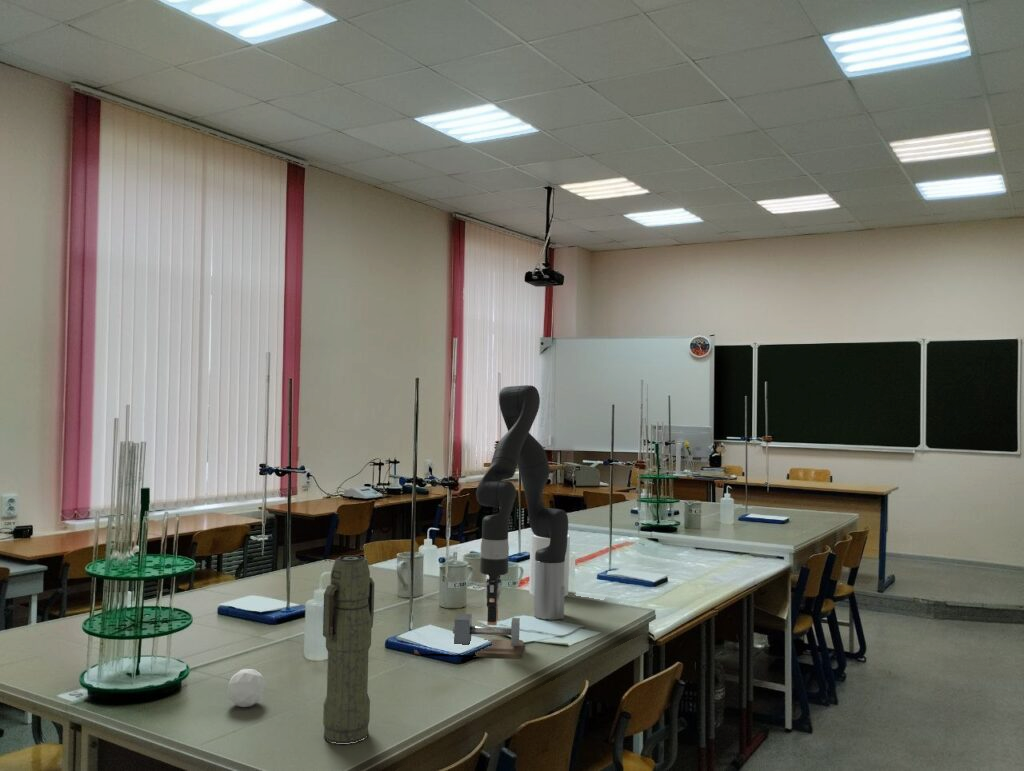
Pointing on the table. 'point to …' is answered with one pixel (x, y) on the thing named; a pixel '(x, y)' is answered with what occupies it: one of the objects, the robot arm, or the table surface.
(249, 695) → the geometric ball
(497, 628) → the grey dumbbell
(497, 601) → the block
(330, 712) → the thermos
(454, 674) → the table surface
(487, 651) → the base plank
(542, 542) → the canister
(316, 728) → the table surface
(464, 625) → the grey upright block
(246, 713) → the table surface
